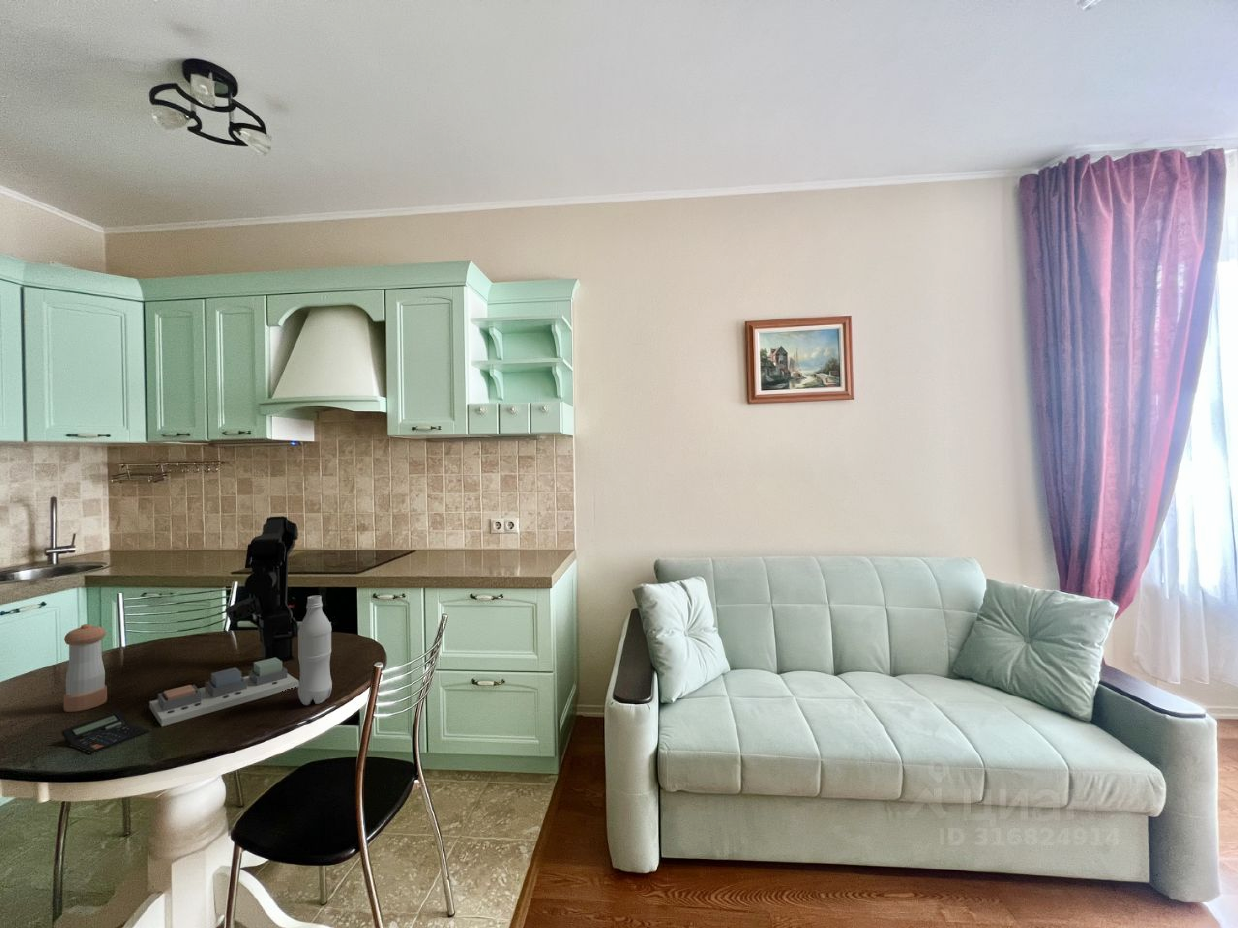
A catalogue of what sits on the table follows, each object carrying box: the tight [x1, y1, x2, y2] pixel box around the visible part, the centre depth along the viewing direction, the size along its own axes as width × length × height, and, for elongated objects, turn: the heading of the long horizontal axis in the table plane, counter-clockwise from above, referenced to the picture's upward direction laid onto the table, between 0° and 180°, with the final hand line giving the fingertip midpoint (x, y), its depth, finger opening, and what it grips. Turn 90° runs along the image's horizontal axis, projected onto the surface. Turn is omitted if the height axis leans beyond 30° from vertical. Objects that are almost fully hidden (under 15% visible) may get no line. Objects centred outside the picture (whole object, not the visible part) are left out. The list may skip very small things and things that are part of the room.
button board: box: [148, 665, 299, 727], centre depth 131 cm, size 27×14×4 cm, turn 140°
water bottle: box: [297, 595, 333, 706], centre depth 129 cm, size 7×7×25 cm
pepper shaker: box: [63, 623, 108, 713], centre depth 127 cm, size 7×7×19 cm
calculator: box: [61, 710, 150, 754], centre depth 112 cm, size 9×12×3 cm
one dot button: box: [253, 657, 283, 676], centre depth 139 cm, size 5×5×2 cm
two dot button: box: [210, 667, 242, 688], centre depth 132 cm, size 5×5×2 cm
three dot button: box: [163, 684, 196, 701], centre depth 125 cm, size 5×5×2 cm
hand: (266, 646), depth 138 cm, fingers closed
